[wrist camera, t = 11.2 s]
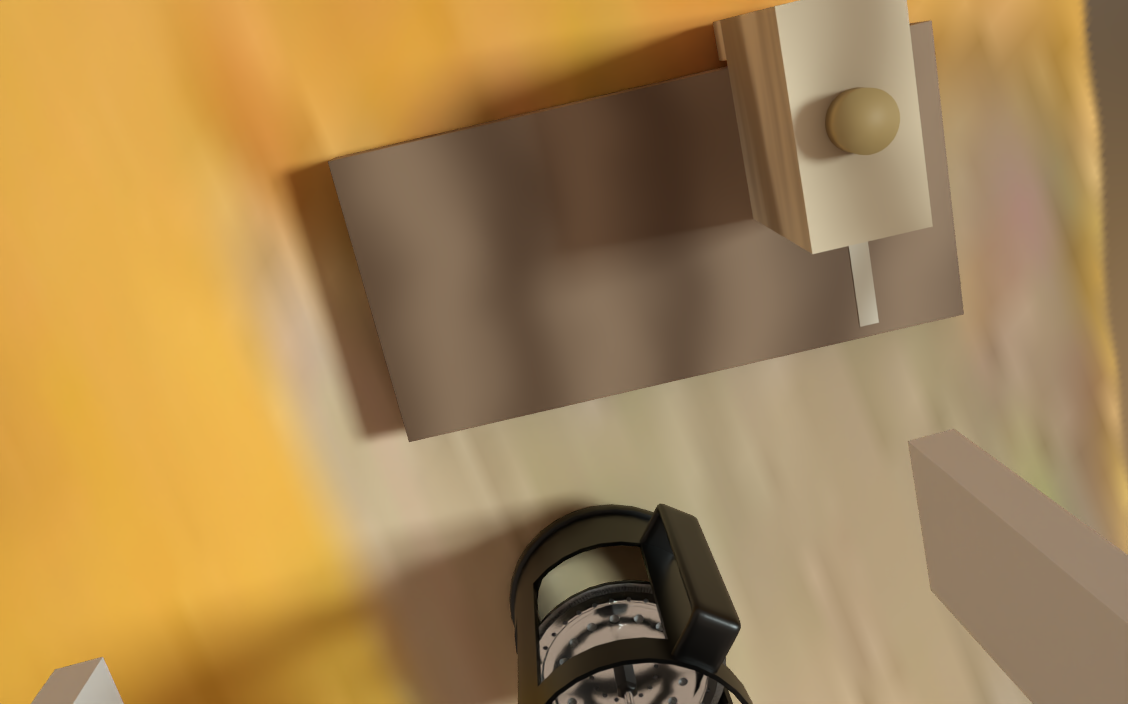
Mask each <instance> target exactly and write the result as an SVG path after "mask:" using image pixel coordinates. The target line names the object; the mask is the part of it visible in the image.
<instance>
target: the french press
mask: <svg viewBox="0 0 1128 704" xmlns="http://www.w3.org/2000/svg"><path fill="white" fill-rule="evenodd" d="M618 545H624V546H635V547H640V549H641V552H642V556H643V560H644V563H645V567H646V570H647V574H648V578H649V581H650V582H648V581H641V580H623V581H615V582H607V583H604V584H600V585H596V586H593V587H589V588H587V589H585V590H583V591H581V592H579V593H577V594H574V595H572V596H571V597H569V598H568V599H566V600H565V601H563V602H562V603H560V604H559V605H557V606H556V607H555V608H554V609H553V610H552V611H551V612H550V613H549V614H548V615H547V616H546V617H545V618H544V619H543V620H542V622H541V620H540V616H539V613H538V605H537V598H538V591H539V587H540V585H541V582H542V579H543V578H544V577H545V576H546V575H547V574H548V573H549V572H550V571H551V570H552V569H554V568H555V567H557V566H558V565H559V564H561V563H562V562H563V561H565V560H567V559H569V558H571V557H573V556H575V555H577V554H579V553H582V552H585V551H588V550H592V549H596V548H599V547H607V546H618ZM510 609H511V618H512V621H513V624H514V627H515V642H516V652H517V656H518V704H733V703H732V700H731V697H730V694H729V691H730V692H732V693H733V694H734V695H735V696H736V697H737V699H738V700H739V701H740V702H741V703H742V704H753V703H752V701H751V699H750V697H749V695H748V693H747V691H746V690H745V688H744V686H743V684H742V683H741V682H740V681H739V679H738V678H737V677H736V676H735V675H734V674H733V672H732V671H731V670H730V669H729V668H728V667H726V655H727V653H728V652H729V650H730V648H731V646H732V644H733V642H734V641H735V639H736V637H737V635H738V633H739V631H740V628H741V624H740V620H739V617H738V615H737V613H736V610H735V608H734V605H733V603H732V601H731V598H730V596H729V594H728V591H727V589H726V586H725V584H724V582H723V579H722V577H721V575H720V572H719V570H718V567H717V565H716V563H715V560H714V558H713V556H712V553H711V551H710V548H709V546H708V544H707V541H706V539H705V537H704V534H703V532H702V529H701V527H700V525H699V522H698V520H697V518H696V517H694V516H693V515H690V514H687V513H685V512H682V511H680V510H677V509H675V508H672V507H670V506H667V505H665V504H659V505H657V507H656V509H655V511H654V513H653V512H651V511H647V510H644V509H640V508H637V507H633V506H623V505H603V506H593V507H589V508H586V509H582V510H578V511H575V512H572V513H570V514H568V515H566V516H564V517H562V518H560V519H558V520H556V521H555V522H553V523H552V524H551V525H549V526H548V527H547V528H545V529H544V530H542V531H541V532H540V533H539V534H538V535H537V536H536V537H535V539H534V540H533V541H532V542H531V543H530V544H529V545H528V546H527V548H526V549H525V551H524V553H523V554H522V556H521V558H520V559H519V561H518V563H517V566H516V569H515V572H514V574H513V577H512V582H511V590H510ZM728 690H729V691H728Z"/></svg>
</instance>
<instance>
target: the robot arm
mask: <svg viewBox="0 0 1128 704" xmlns="http://www.w3.org/2000/svg"><path fill="white" fill-rule="evenodd" d="M908 445H909V451H910V458H911V464H912V471H913V477H914V484H915V490H916V497H917V503H918V510H919V517H920V523H921V530H922V536H923V543H924V549H925V556H926V562H927V569H928V575H929V582H930V588H931V591H932V592H933V593H934V594H935V595H936V596H937V597H938V599H939V600H940V601H941V602H942V603H943V604H944V605H945V606H946V607H947V609H948V610H949V611H950V612H951V613H952V614H953V615H954V616H955V617H956V619H957V620H958V621H959V622H960V623H961V624H962V625H963V626H964V627H965V629H966V630H967V631H968V632H969V633H970V634H971V635H972V636H973V638H974V639H975V640H976V641H977V642H978V643H979V644H980V645H981V646H982V648H983V649H984V650H985V651H986V652H987V653H988V654H989V655H990V656H991V658H992V659H993V660H994V661H995V662H996V663H997V664H998V665H999V666H1000V668H1001V669H1002V670H1003V671H1004V672H1005V673H1006V674H1007V675H1008V676H1009V678H1010V679H1011V680H1012V681H1013V682H1014V683H1015V684H1016V685H1017V687H1018V688H1019V689H1020V690H1021V691H1022V692H1023V693H1024V694H1025V695H1026V697H1027V698H1028V699H1029V700H1030V701H1031V702H1032V703H1033V704H1128V555H1127V554H1126V553H1124V552H1123V551H1122V550H1120V549H1119V548H1118V547H1116V546H1115V545H1113V544H1112V543H1111V542H1109V541H1108V540H1107V539H1105V538H1104V537H1102V536H1101V535H1100V534H1098V533H1097V532H1095V531H1094V530H1093V529H1091V528H1090V527H1089V526H1087V525H1086V524H1084V523H1083V522H1082V521H1080V520H1079V519H1078V518H1076V517H1075V516H1073V515H1072V514H1071V513H1069V512H1068V511H1067V510H1065V509H1064V508H1062V507H1061V506H1060V505H1058V504H1057V503H1056V502H1054V501H1053V500H1051V499H1050V498H1049V497H1047V496H1046V495H1045V494H1043V493H1042V492H1040V491H1039V490H1038V489H1036V488H1035V487H1034V486H1032V485H1031V484H1029V483H1028V482H1027V481H1025V480H1024V479H1023V478H1021V477H1020V476H1018V475H1017V474H1016V473H1014V472H1013V471H1011V470H1010V469H1009V468H1007V467H1006V466H1005V465H1003V464H1002V463H1000V462H999V461H998V460H996V459H995V458H994V457H992V456H991V455H989V454H988V453H987V452H985V451H984V450H983V449H981V448H980V447H978V446H977V445H976V444H974V443H973V442H972V441H970V440H969V439H967V438H966V437H965V436H963V435H962V434H961V433H959V432H958V431H956V430H955V429H951V430H948V431H944V432H940V433H936V434H933V435H929V436H925V437H922V438H918V439H914V440H910V441H908ZM31 704H124V703H123V701H122V699H121V696H120V694H119V692H118V690H117V687H116V685H115V683H114V681H113V679H112V676H111V674H110V672H109V670H108V667H107V665H106V663H105V661H104V658H103V657H100V658H97V659H93V660H89V661H85V662H82V663H78V664H74V665H70V666H67V667H63V668H59V669H55V670H54V672H53V673H52V675H51V676H50V677H49V679H48V680H47V682H46V683H45V685H44V686H43V687H42V689H41V690H40V692H39V693H38V694H37V696H36V697H35V699H34V700H33V702H32V703H31Z"/></svg>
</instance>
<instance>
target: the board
mask: <svg viewBox="0 0 1128 704" xmlns="http://www.w3.org/2000/svg"><path fill="white" fill-rule="evenodd" d="M909 25H910V34H911V43H912V51H913V60H914V69H915V77H916V86H917V94H918V103H919V112H920V120H921V129H922V138H923V146H924V155H925V164H926V172H927V181H928V190H929V198H930V207H931V215H932V224H933V227H928V228H924V229H920V230H915V231H911V232H907V233H902V234H898V235H894V236H889V237H885V238H881V239H876V240H872V241H868V242H863V243H859V244H855V245H850V246H846V247H842V248H837V249H833V250H829V251H824V252H820V253H816V254H811V253H810V252H808V251H806V250H805V249H803V248H801V247H800V246H798V245H796V244H795V243H793V242H791V241H790V240H788V239H786V238H785V237H783V236H781V235H779V234H778V233H776V232H774V231H773V230H771V229H769V228H768V227H766V226H764V225H763V224H761V223H759V222H758V221H756V220H754V219H753V213H752V207H751V201H750V195H749V189H748V184H747V178H746V172H745V166H744V160H743V154H742V148H741V142H740V136H739V130H738V124H737V118H736V112H735V106H734V100H733V95H732V89H731V83H730V77H729V71H728V66H726V67H721V68H717V69H713V70H708V71H704V72H700V73H696V74H691V75H687V76H683V77H679V78H674V79H670V80H666V81H661V82H657V83H653V84H649V85H644V86H640V87H636V88H631V89H627V90H623V91H619V92H614V93H610V94H606V95H601V96H597V97H593V98H589V99H584V100H580V101H576V102H571V103H567V104H563V105H559V106H554V107H550V108H546V109H542V110H537V111H533V112H529V113H524V114H520V115H516V116H512V117H507V118H503V119H499V120H494V121H490V122H486V123H482V124H477V125H473V126H469V127H464V128H460V129H456V130H452V131H447V132H443V133H439V134H435V135H430V136H426V137H422V138H417V139H413V140H409V141H405V142H400V143H396V144H392V145H387V146H383V147H379V148H375V149H370V150H366V151H362V152H357V153H353V154H349V155H345V156H340V157H336V158H334V159H332V160H330V161H328V164H329V167H330V171H331V174H332V178H333V181H334V184H335V188H336V191H337V195H338V198H339V202H340V205H341V209H342V212H343V215H344V219H345V222H346V226H347V229H348V233H349V236H350V240H351V243H352V247H353V250H354V253H355V257H356V260H357V264H358V267H359V271H360V274H361V278H362V281H363V285H364V288H365V291H366V295H367V298H368V302H369V305H370V309H371V312H372V316H373V319H374V322H375V326H376V329H377V333H378V336H379V340H380V343H381V347H382V350H383V354H384V357H385V360H386V364H387V367H388V371H389V374H390V378H391V381H392V385H393V388H394V392H395V395H396V398H397V402H398V405H399V409H400V412H401V416H402V419H403V423H404V426H405V429H406V433H407V436H408V440H409V442H412V441H416V440H420V439H425V438H429V437H433V436H438V435H442V434H446V433H451V432H455V431H459V430H464V429H468V428H472V427H477V426H481V425H485V424H490V423H494V422H498V421H503V420H507V419H511V418H516V417H520V416H524V415H529V414H533V413H537V412H542V411H546V410H551V409H555V408H559V407H564V406H568V405H572V404H577V403H581V402H585V401H590V400H594V399H598V398H603V397H607V396H611V395H616V394H620V393H624V392H629V391H633V390H637V389H642V388H646V387H650V386H655V385H659V384H663V383H668V382H672V381H676V380H681V379H685V378H689V377H694V376H698V375H702V374H707V373H711V372H715V371H720V370H724V369H728V368H733V367H737V366H742V365H746V364H750V363H755V362H759V361H763V360H768V359H772V358H776V357H781V356H785V355H789V354H794V353H798V352H802V351H807V350H811V349H815V348H820V347H824V346H828V345H833V344H837V343H841V342H846V341H850V340H854V339H859V338H863V337H867V336H872V335H876V334H880V333H885V332H889V331H893V330H898V329H902V328H906V327H911V326H915V325H919V324H924V323H928V322H933V321H937V320H941V319H946V318H950V317H954V316H959V315H963V314H964V312H963V303H962V294H961V285H960V275H959V266H958V257H957V248H956V239H955V230H954V221H953V212H952V203H951V193H950V184H949V175H948V166H947V157H946V148H945V139H944V130H943V121H942V111H941V102H940V93H939V84H938V75H937V66H936V57H935V48H934V39H933V29H932V21H925V22H917V23H910V24H909Z"/></svg>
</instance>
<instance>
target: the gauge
mask: <svg viewBox="0 0 1128 704" xmlns="http://www.w3.org/2000/svg"><path fill="white" fill-rule="evenodd" d="M713 27H714V33H715V39H716V45H717V51H718V56H719V61H723V60H727V65H728V71H729V77H730V83H731V89H732V95H733V100H734V106H735V112H736V118H737V124H738V130H739V136H740V142H741V148H742V154H743V160H744V166H745V172H746V178H747V184H748V189H749V195H750V201H751V207H752V213H753V219H754V220H756V221H758V222H759V223H761V224H763V225H764V226H766V227H768V228H769V229H771V230H773V231H774V232H776V233H778V234H779V235H781V236H783V237H785V238H786V239H788V240H790V241H791V242H793V243H795V244H796V245H798V246H800V247H801V248H803V249H805V250H806V251H808V252H810V253H811V254H816V253H820V252H824V251H829V250H833V249H837V248H842V247H846V246H850V245H855V244H859V243H863V242H868V241H872V240H876V239H881V238H885V237H889V236H894V235H898V234H902V233H907V232H911V231H915V230H920V229H924V228H928V227H933V224H932V215H931V207H930V198H929V190H928V181H927V172H926V164H925V155H924V146H923V138H922V129H921V120H920V112H919V103H918V94H917V86H916V77H915V69H914V60H913V51H912V43H911V34H910V25H909V17H908V8H907V0H800V1H796V2H791V3H787V4H783V5H779V6H774V7H770V8H767V9H763V10H759V11H755V12H751V13H747V14H743V15H739V16H735V17H731V18H727V19H723V20H719V21H715V22H713Z"/></svg>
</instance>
